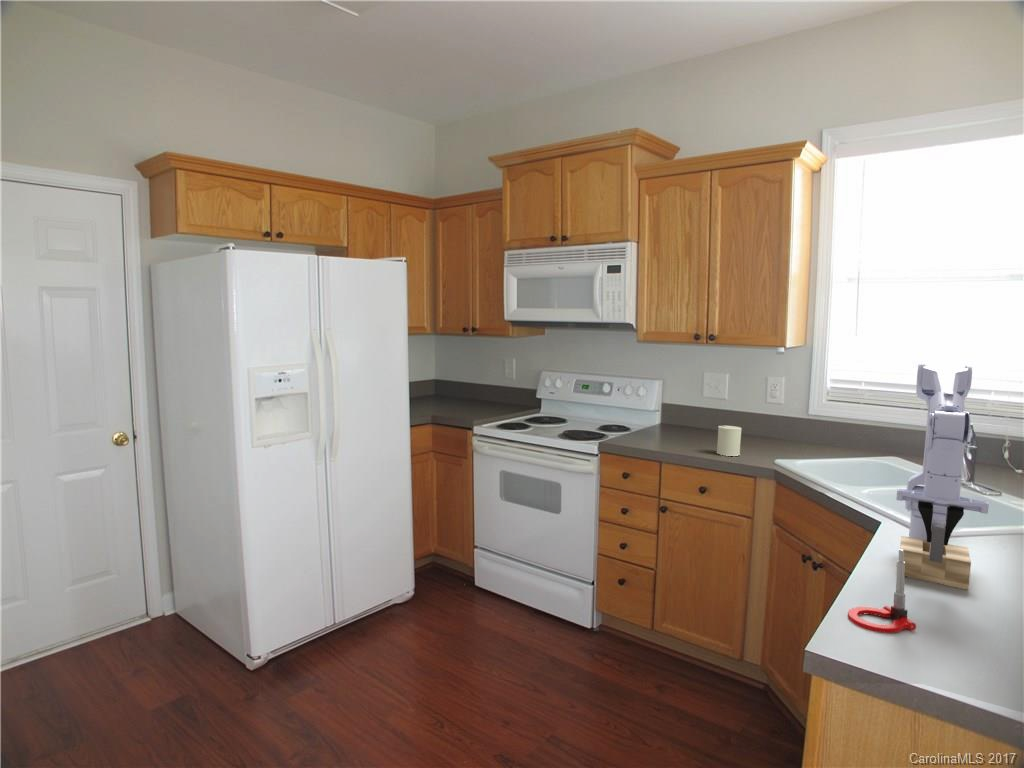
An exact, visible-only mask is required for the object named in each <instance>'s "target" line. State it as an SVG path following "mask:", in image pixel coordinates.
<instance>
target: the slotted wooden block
mask: <svg viewBox="0 0 1024 768" xmlns="http://www.w3.org/2000/svg"><path fill="white" fill-rule="evenodd" d="M899 545H900V546H899V549H902V550H904V562H905V576H908V577H907V578H910V579H916V580H920V581H924V582H928V583H935V584H938V583H939V584H940V585H943V584H944V585H945V586H948V585H949V586H948V587H953V588H957V589H958V588H959V589H964V590H969V585H970V577H971V566H972V562H971V556H970V552H969V547H966V546H961V545H955V544H950V543H948V546H946V545H944V547H943V557H942V563H938V562H933V561H929V550H930V542H927V540H922V539H916V538H911V537H909V536H904V535H901V536H900V544H899ZM905 576H904V577H905ZM939 584H938V585H939Z"/></svg>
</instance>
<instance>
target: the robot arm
mask: <svg viewBox="0 0 1024 768" xmlns="http://www.w3.org/2000/svg"><path fill="white" fill-rule="evenodd" d="M916 373H917V375H916V386H915V387H916V391H915V392H916V395H917V396H916V397H917V398H918V399H921V400H923V401H925V403H926V407H927V418H926V428H925V429H926V430H925V438H924V440H925V441H924V450H923V451H924V453H923V461H922V463H923V464H922V471H919V472H918V473H916V474H913V475H912V476H910V477H909V479H908V480H907V485H906V489H902V488H897V491H896V498H895V499H896V501H900V502H902V501H904V502H905V503H904V508H905V510H906V511H907V512H910V519H909V520H910V521H909V531H908V537H911V538H916V539H922V540H927V542H930V543H931V529H932V518H935V519H942V520H945V528H946V529H945V537H944V545H946V546H948V544H949V540H950V538H951V536H952V534H953V531H954V529H955V528H956V527H957V525H958V523H959V522H960V521H961V519H963V517H964V514H965V512H964V511H972V512H978V513H981V514H985V515H988V514H989V506H990V504H989V503H990V502H988V501H987V500H986V501H985V500H980V499H974V498H968V497H964V496H963V497H962V496H961V490H962V489H961V488H962V476H963V467H964V457H965V449H966V447H965V446H966V444H967V443H968V441H969V439H970V434H971V416H970V412H969V411H966V409H965V399H966V398H967V397H968V395H969V391H970V390H971V386H972V380H973V379H972V378H973V367H972V366H971V365H970V364H969V363H966V364H955V363H954V364H951V363H937V362H936V363H934V362H931V363H930V362H923V361H921V362H920V363H919V364H918V365H917V371H916ZM963 441H964V442H965V443H964V442H963Z"/></svg>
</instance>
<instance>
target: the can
mask: <svg viewBox="0 0 1024 768" xmlns="http://www.w3.org/2000/svg"><path fill="white" fill-rule="evenodd" d="M717 428H718V430H717V447H716V453H718V454H721V455H726V456H738V455H740V456H741V453H740V452H741V440H742V427H741V426H734V425H718V426H717Z"/></svg>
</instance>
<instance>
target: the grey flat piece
mask: <svg viewBox="0 0 1024 768" xmlns="http://www.w3.org/2000/svg"><path fill="white" fill-rule="evenodd" d="M945 529H946V528H945V520H942V519H935V518H932V529H931V543H930V550H929V561H933V562H938V563H942V557H943V547H944V537H945Z"/></svg>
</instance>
